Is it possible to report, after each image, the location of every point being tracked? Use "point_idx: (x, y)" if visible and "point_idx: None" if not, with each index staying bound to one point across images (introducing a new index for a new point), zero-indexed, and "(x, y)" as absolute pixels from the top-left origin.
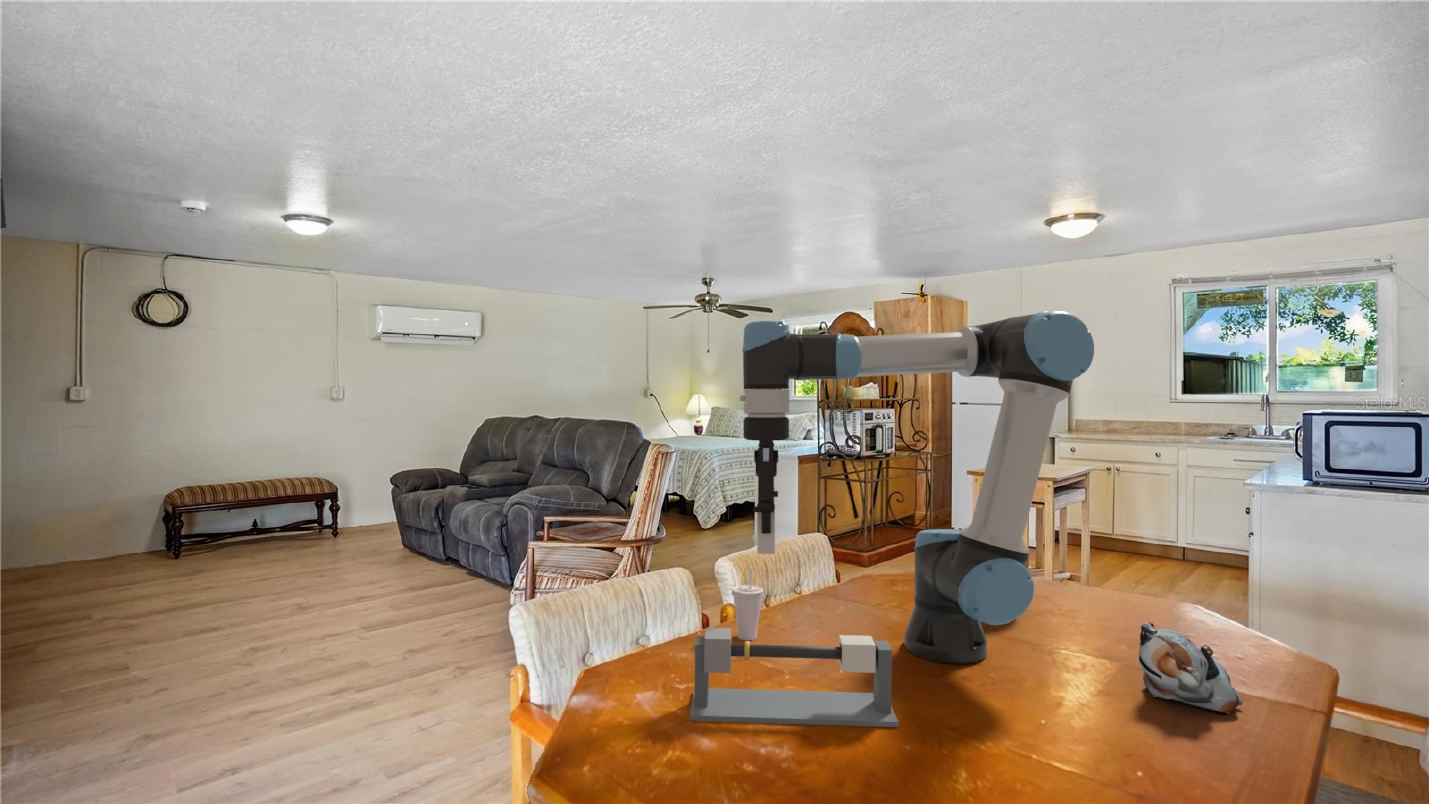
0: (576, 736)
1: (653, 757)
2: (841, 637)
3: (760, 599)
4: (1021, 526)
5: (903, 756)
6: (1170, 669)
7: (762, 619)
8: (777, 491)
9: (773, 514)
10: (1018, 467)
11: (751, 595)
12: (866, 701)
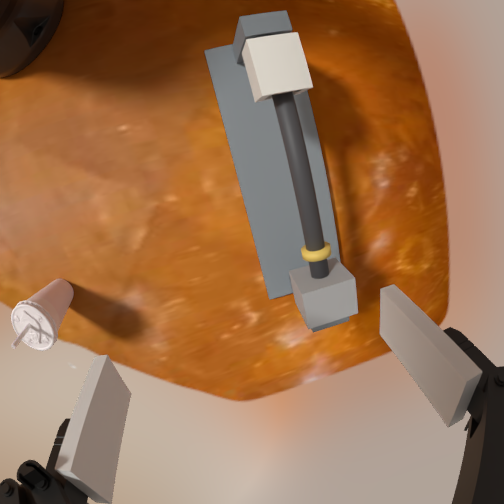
0: (380, 347)
1: (408, 277)
2: (275, 90)
3: (33, 300)
4: None
5: (355, 39)
6: None
7: (2, 287)
8: (20, 479)
9: (475, 370)
10: None
11: (46, 317)
12: (241, 72)
